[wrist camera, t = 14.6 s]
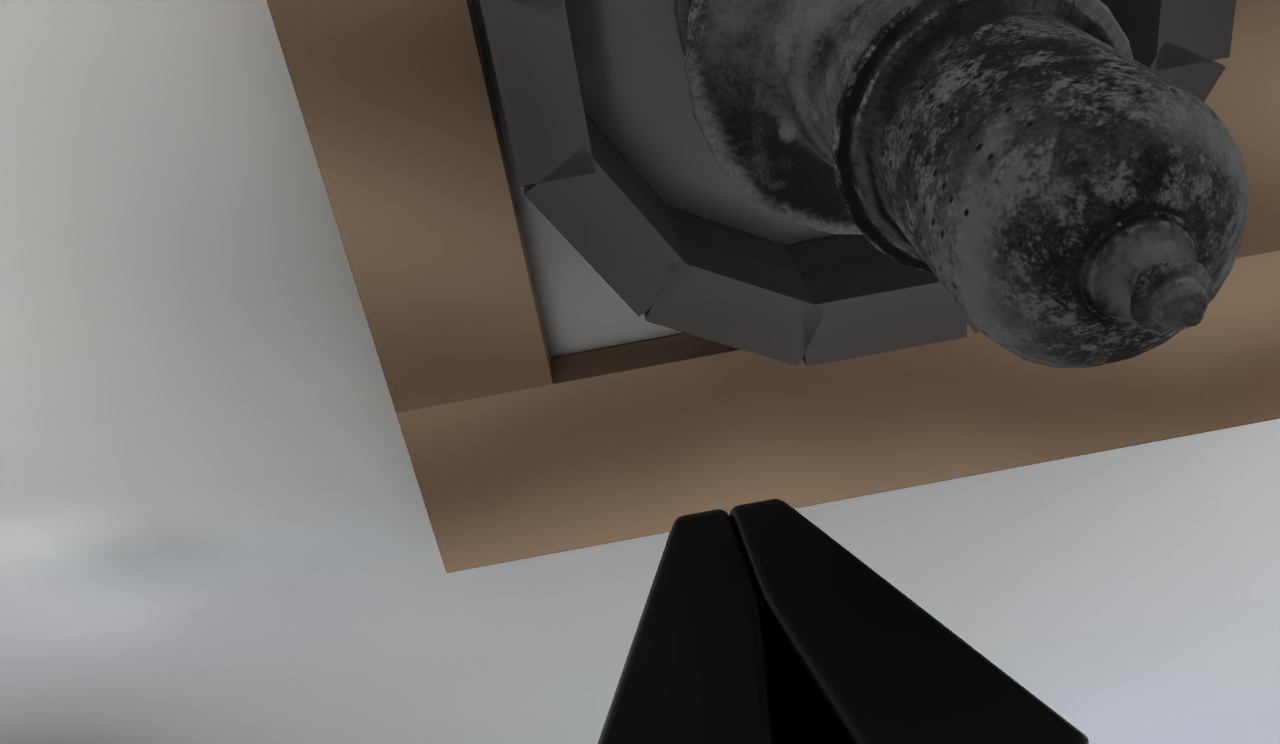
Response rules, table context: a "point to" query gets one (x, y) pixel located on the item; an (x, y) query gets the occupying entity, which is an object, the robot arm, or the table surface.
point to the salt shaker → (982, 157)
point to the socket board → (711, 296)
